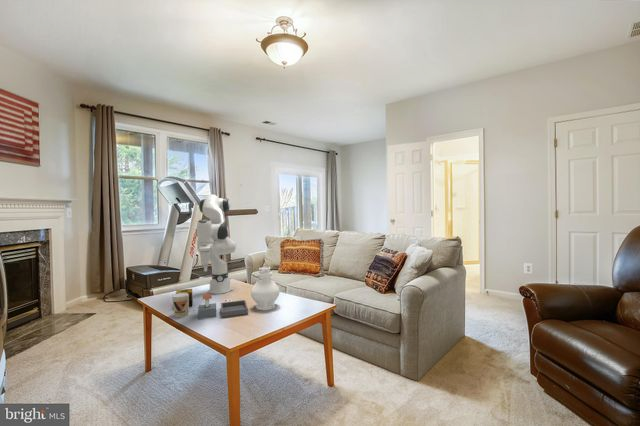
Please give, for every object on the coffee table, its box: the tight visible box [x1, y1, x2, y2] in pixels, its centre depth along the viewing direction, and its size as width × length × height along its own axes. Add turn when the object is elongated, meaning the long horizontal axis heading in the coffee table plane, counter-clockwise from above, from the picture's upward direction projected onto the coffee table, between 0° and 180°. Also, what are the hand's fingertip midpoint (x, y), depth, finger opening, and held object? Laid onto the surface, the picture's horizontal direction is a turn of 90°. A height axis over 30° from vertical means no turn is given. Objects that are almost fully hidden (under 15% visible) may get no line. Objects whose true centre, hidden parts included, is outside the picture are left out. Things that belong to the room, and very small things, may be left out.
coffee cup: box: [172, 293, 190, 318], centre depth 185 cm, size 9×9×12 cm
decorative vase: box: [250, 266, 280, 311], centre depth 195 cm, size 18×18×25 cm
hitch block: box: [197, 302, 217, 320], centre depth 183 cm, size 10×10×5 cm
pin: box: [201, 293, 212, 308], centre depth 183 cm, size 2×5×12 cm, turn 109°
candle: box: [174, 288, 194, 308], centre depth 201 cm, size 10×10×10 cm
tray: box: [220, 299, 249, 319], centre depth 188 cm, size 18×15×4 cm
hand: (205, 269), depth 183 cm, fingers open, 8 cm apart
